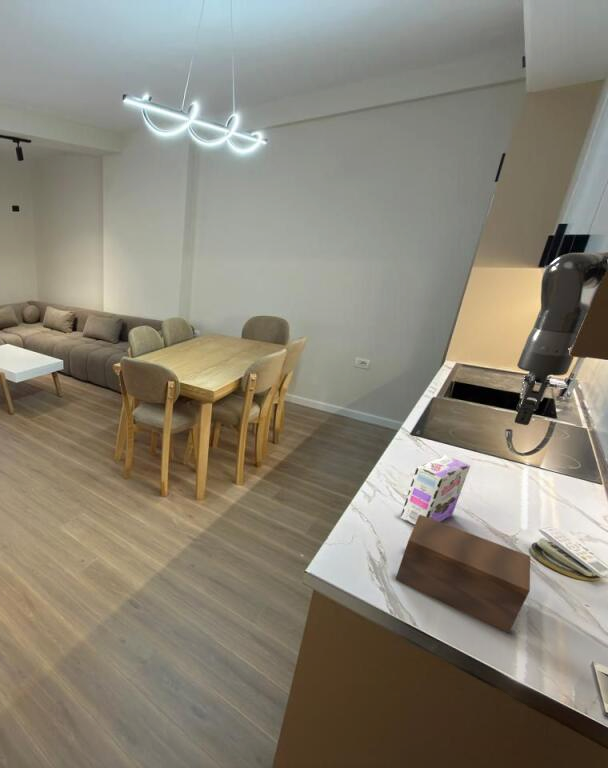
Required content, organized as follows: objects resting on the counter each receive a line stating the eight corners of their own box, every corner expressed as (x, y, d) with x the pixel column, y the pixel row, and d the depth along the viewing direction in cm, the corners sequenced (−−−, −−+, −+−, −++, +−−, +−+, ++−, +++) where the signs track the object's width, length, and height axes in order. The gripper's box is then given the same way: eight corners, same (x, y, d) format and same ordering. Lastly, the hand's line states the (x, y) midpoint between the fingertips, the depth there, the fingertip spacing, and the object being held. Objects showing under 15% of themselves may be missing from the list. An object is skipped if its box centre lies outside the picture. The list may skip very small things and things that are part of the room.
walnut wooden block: (510, 597, 83) (530, 556, 79) (508, 634, 76) (529, 590, 72) (406, 551, 95) (419, 514, 92) (395, 579, 88) (408, 539, 84)
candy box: (423, 531, 102) (442, 477, 96) (399, 518, 107) (415, 466, 101) (452, 516, 107) (472, 464, 101) (428, 504, 112) (445, 454, 106)
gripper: (577, 360, 77) (545, 433, 83) (573, 347, 87) (544, 413, 92) (523, 353, 82) (496, 422, 88) (524, 341, 92) (500, 404, 97)
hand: (521, 417), depth 90 cm, fingers open, 8 cm apart
